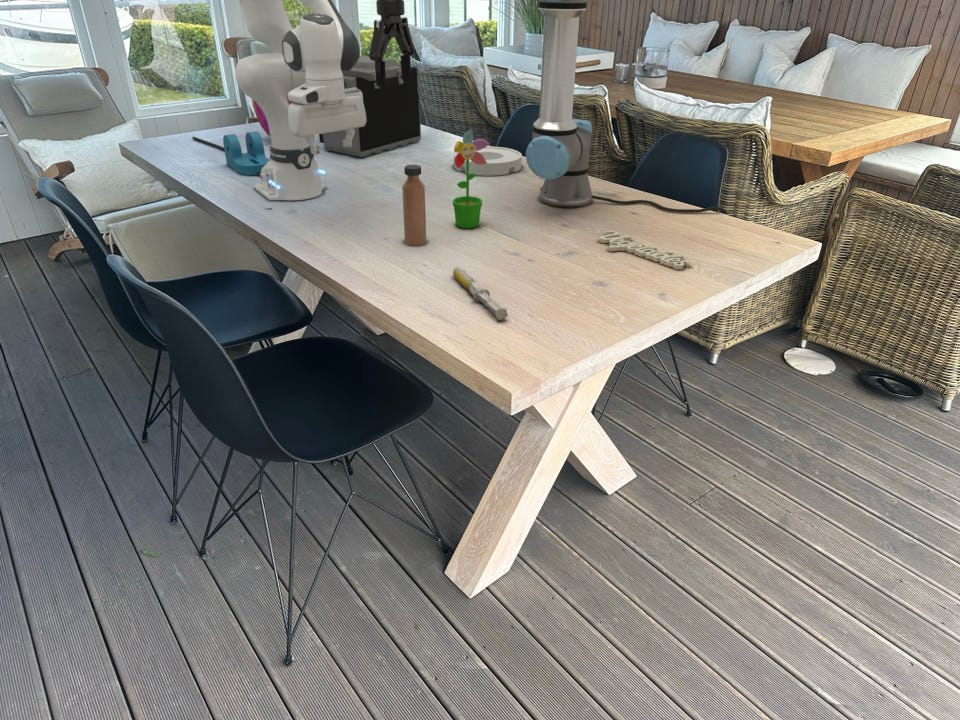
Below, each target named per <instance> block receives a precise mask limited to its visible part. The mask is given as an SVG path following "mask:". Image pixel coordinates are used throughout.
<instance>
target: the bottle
mask: <svg viewBox="0 0 960 720" xmlns="http://www.w3.org/2000/svg"><path fill="white" fill-rule="evenodd" d="M406 176H407V178H406V179H405V181H404V182H403V183H402V185H401V188H402V189H401V190H402V191H401V193H402V207H403V209H402V210H403V212H402V213H403V232H404V243H405V245H407V246H412V247H418V246H424V245H426V244H427V216H426V189H425V188H426V186H425V183H424V182H423V181H422V179H421V178H420V175H417V176H408V175H406Z"/></svg>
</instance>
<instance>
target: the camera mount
mask: <svg viewBox="0 0 960 720" xmlns="http://www.w3.org/2000/svg"><path fill="white" fill-rule="evenodd" d="M222 140H223V141H222V143H223V147H224V150H225V151H224V150H223V151H224V156H225V161H226V165H227V166H228V167H230V168H231V169H232V170H234V171H236V172H237V173H238V174H239V175H244V176H258V175H257V172H260V173H261V169H262V168H263V167H264V166H265V165H266V164H267V162H268V161H269V160H270V158H268V157H267V156H266V153H265V145H264V141H263V139H262V136H261V134H260V132H258V131H247V132H246V133H245V146H246V152H243V151H242V150H243V149H242V146H241V142H240V140H239V138H238V135H236V134H235V133H231V134H224V135H223V138H222Z"/></svg>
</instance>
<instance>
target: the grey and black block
mask: <svg viewBox="0 0 960 720" xmlns="http://www.w3.org/2000/svg"><path fill="white" fill-rule="evenodd" d="M383 61H385V72H386V87H381V86H377V85H376V72H375V61H372V60H371V59H370V58H369V55H368V56H367V55H360V56H359V59H358V61H357V62H356V64H355V65H354V66H353V68H352V69H351V70H349V71H342V73H343V79H344V89H345V88H353V87H356V88H357V89H359V90H360V91H361V92H362V94H363V104H364V108H365V113H366V120H367V121H366V124H365V126H364V127H358V128H355V134H354V136H353V139H352V147H350V148H345V147H344V146H343V144H344V143H343V140H345V138H346V135H347V132H345V130H341V131H335V132H329V133H324V134H318V138H319V143H320V144H323V146H324V149H325V150H327V151H330V152H335V153H340V154H344V155H348V156H353V157H357V158H362V159H363V158H366V157H367V158H368V157H369V155H371V154H375V155H377V154H381V153H382V152H383V151H391V150H395V149H396V148H397V147H405V146H407V145H408V144H416V143H418V142H419V141H421V137H422V128H421V97H420V92H419V91H420V89H419V68H418V67H417V66H411V80H402V74H401V64H396V62H395V60H394V59H393V58H385V57H384V58H383ZM357 92H359V91H357ZM350 93H351V92H350Z"/></svg>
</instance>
